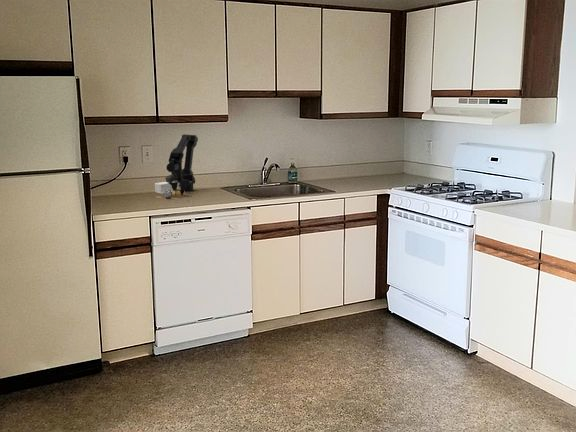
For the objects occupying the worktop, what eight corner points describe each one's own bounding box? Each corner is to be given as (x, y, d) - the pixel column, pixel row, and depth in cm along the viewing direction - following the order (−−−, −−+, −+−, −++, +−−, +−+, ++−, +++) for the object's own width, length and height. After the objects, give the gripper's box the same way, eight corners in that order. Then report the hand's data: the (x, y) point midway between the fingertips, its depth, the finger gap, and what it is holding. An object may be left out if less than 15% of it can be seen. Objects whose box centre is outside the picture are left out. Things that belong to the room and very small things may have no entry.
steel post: (169, 197, 368) (168, 189, 367) (172, 198, 365) (172, 190, 364) (164, 198, 365) (164, 190, 364) (167, 199, 363) (167, 191, 362)
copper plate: (180, 194, 385) (180, 192, 385) (195, 197, 374) (195, 195, 374) (154, 198, 371) (154, 196, 371) (169, 201, 360) (169, 200, 360)
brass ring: (179, 193, 383) (179, 188, 382) (186, 194, 378) (186, 190, 377) (170, 194, 378) (170, 190, 377) (177, 196, 373) (177, 191, 372)
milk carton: (154, 183, 386) (178, 180, 399) (155, 193, 387) (178, 190, 400) (160, 184, 381) (184, 181, 394) (160, 195, 382) (184, 191, 395)
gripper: (158, 170, 375) (159, 193, 378) (175, 172, 362) (176, 197, 366) (172, 168, 383) (173, 191, 386) (190, 171, 370) (191, 195, 374)
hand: (178, 193), depth 378 cm, fingers closed on brass ring, 7 cm apart
